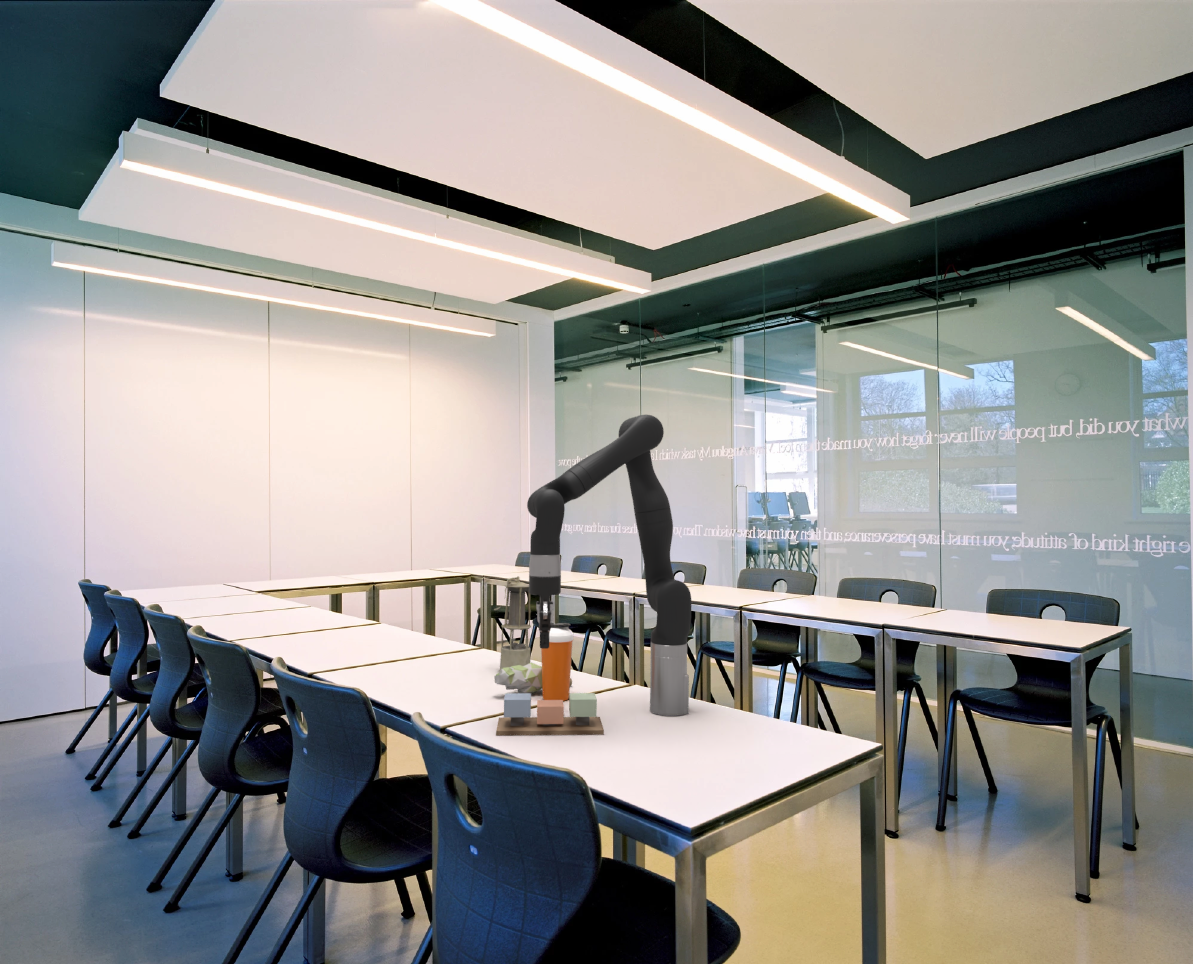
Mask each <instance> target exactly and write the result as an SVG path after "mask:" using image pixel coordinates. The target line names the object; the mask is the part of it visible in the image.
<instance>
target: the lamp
mask: <svg viewBox="0 0 1193 964" xmlns="http://www.w3.org/2000/svg"><path fill="white" fill-rule="evenodd" d="M520 579H521V577H520V576H517V577H511V578H510V577H509V578H508V579H507V580H506V584H504V587H505V588H504V600H505V599H506V601H505V614H504V624H501V629H502V632H501V639H500V640H501V646H500V659H499V670H498V672H499V671H500V670H501V669H502V668H506V667H511V666H517V665H521V666H525V665H527V664H529V663H531V647H530V646H529V629H530V628H532V625H531V613H532V611H531V594H530V593H529V584H526V583H525V582H523V581H520ZM526 592H527V597H528V598H527V600H528V604H527V605H528V606H527V609H528V624H526ZM494 596H495V595H494ZM501 607H502V605H501V606H499V607H496V608H494V609H493V611H497V610H499V609H500V608H501ZM503 629H506V630H509V645H504V630H503ZM515 630H516V631H517V630H518V631H519V630H520V631H522V630H525V633H524V635H525V643H518V642H514V632H515ZM498 672H497V673H498Z"/></svg>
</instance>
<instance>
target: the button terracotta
mask: <svg viewBox="0 0 1193 964" xmlns="http://www.w3.org/2000/svg"><path fill="white" fill-rule="evenodd" d="M536 701H537V704H536V717H537V724H564V717H565V716H564V715H565V713H564V712H565V711H564V707H565V705H564V701H563V700H544V699H537V700H536Z"/></svg>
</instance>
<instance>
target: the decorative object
mask: <svg viewBox="0 0 1193 964" xmlns="http://www.w3.org/2000/svg"><path fill="white" fill-rule="evenodd" d="M499 670H500V669H499ZM499 670H498V671H499ZM494 683H495V684H496V685H499V686H505V689H506V690H507V691H508V690H510V691H511V690H517V693H531V695H532V694H534V693H536V692H538V691H541V690H542V665H538V664H536V663H533V662H530V663H529V664H527V665H525V666H521V665H517V666H511V667H506V668H502V669H501V670H500V671H499V672H497V673H496V674H495V675H494ZM572 684H573V680H572V677H570V687H572Z"/></svg>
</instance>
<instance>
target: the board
mask: <svg viewBox="0 0 1193 964" xmlns="http://www.w3.org/2000/svg"><path fill="white" fill-rule="evenodd" d="M592 735H593V736H594V735H595V736H596V735H597V736H598V735H599V736H600V735H601V736H604V735H605V729H604V726H603V723H602V719H601V716H597V717H570V716H564V724H537V716H530V717H504V716H502V717H498V721H497V725H496V729H495V736H497V737H498V736H503V737H504V736H505V737H506V736H510V737H511V736H513V737H514V736H592Z"/></svg>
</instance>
